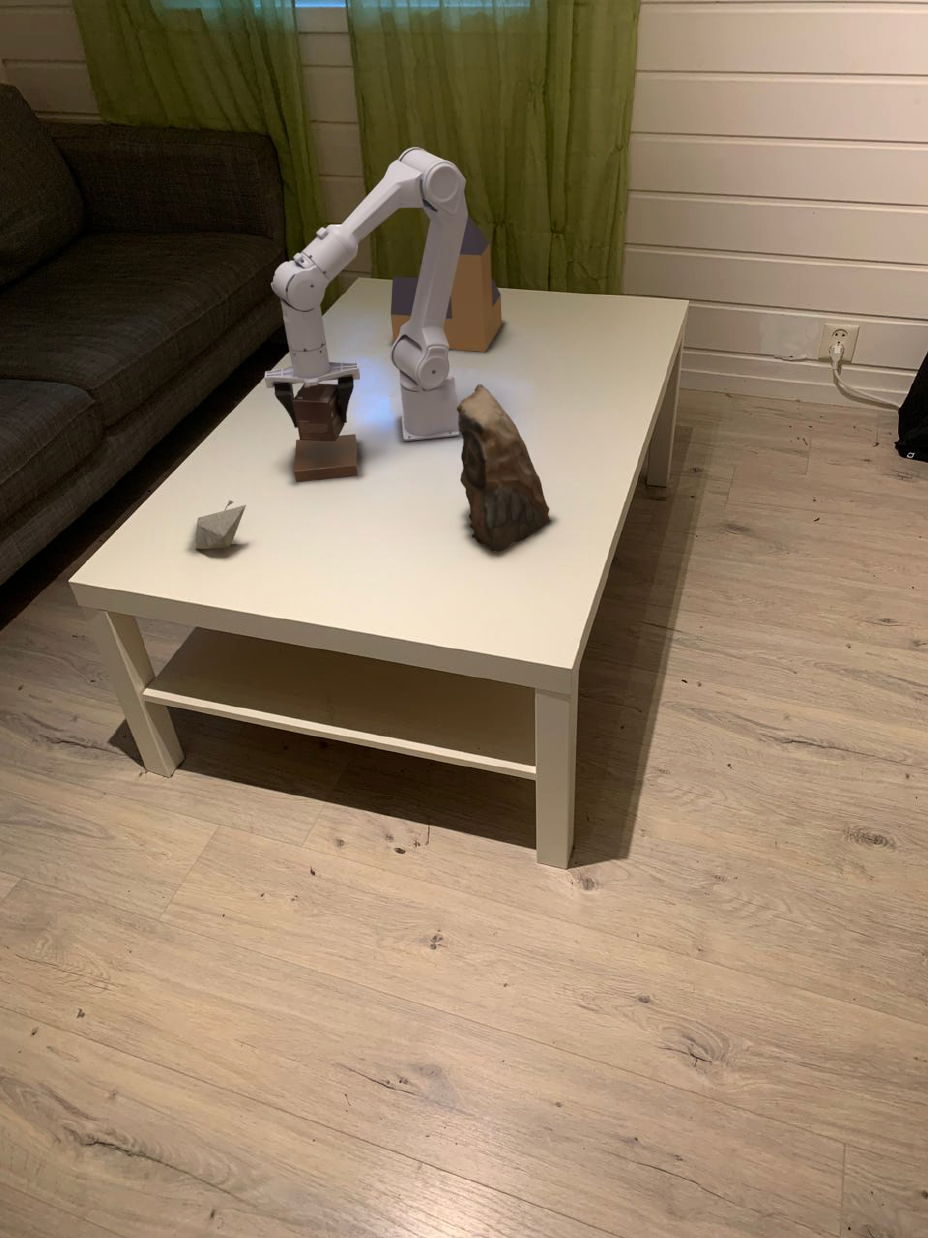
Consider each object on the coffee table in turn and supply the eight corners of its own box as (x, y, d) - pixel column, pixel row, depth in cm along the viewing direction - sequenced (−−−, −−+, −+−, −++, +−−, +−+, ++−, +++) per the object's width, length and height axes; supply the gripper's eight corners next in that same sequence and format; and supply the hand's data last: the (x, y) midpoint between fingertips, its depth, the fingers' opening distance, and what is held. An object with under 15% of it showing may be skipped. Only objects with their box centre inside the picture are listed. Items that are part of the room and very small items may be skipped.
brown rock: (493, 559, 144) (487, 436, 131) (434, 524, 151) (424, 405, 138) (553, 521, 150) (554, 401, 137) (494, 489, 157) (489, 372, 144)
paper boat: (166, 544, 149) (191, 497, 154) (200, 569, 153) (223, 522, 157) (213, 524, 141) (237, 475, 146) (247, 551, 145) (269, 502, 150)
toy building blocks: (485, 351, 194) (479, 220, 178) (393, 344, 198) (380, 215, 182) (501, 324, 203) (497, 196, 187) (413, 317, 207) (402, 192, 191)
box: (334, 443, 160) (328, 402, 155) (299, 441, 161) (291, 400, 156) (345, 424, 164) (339, 383, 160) (310, 422, 165) (303, 381, 161)
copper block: (356, 443, 170) (355, 433, 169) (357, 475, 163) (356, 465, 162) (297, 449, 170) (295, 439, 169) (296, 481, 162) (294, 471, 161)
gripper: (257, 359, 149) (274, 439, 158) (355, 350, 150) (366, 430, 159) (260, 339, 155) (276, 417, 164) (354, 330, 155) (365, 408, 164)
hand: (320, 422), depth 161 cm, fingers closed on box, 7 cm apart
